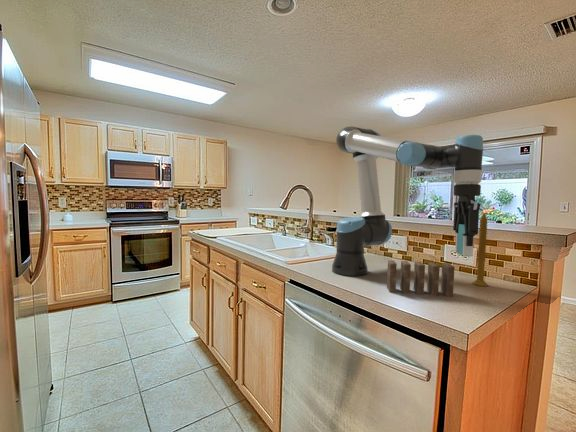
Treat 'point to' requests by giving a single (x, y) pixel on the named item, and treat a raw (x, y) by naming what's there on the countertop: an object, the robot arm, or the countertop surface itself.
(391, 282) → the domino
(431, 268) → the domino
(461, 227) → the domino
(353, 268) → the robot arm
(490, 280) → the countertop surface
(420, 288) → the domino
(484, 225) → the candlestick
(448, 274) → the domino
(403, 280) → the domino
